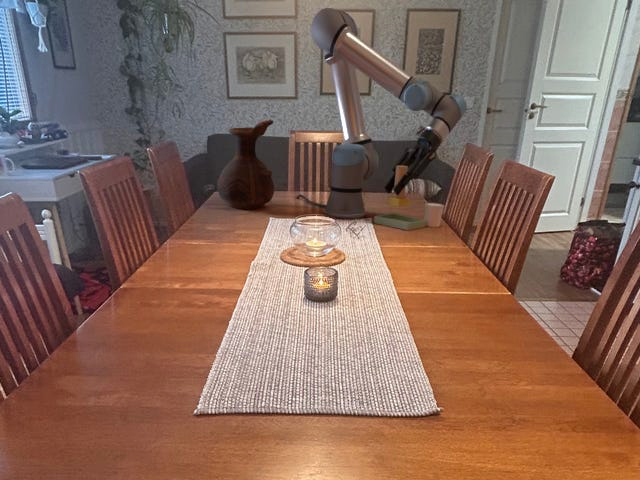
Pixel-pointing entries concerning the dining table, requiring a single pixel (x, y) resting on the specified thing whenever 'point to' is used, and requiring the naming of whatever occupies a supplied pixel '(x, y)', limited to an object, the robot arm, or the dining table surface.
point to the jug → (246, 172)
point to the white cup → (433, 214)
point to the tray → (400, 221)
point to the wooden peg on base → (401, 199)
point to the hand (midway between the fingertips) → (391, 191)
